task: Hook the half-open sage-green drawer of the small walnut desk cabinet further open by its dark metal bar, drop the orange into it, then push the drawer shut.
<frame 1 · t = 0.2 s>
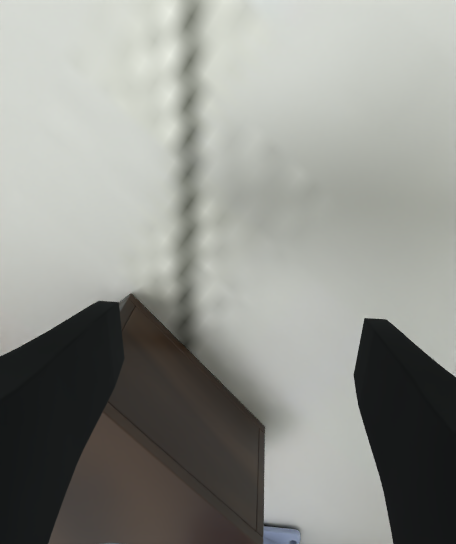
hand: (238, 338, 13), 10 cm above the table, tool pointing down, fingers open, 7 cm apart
cabinet: (122, 415, 28), on the table
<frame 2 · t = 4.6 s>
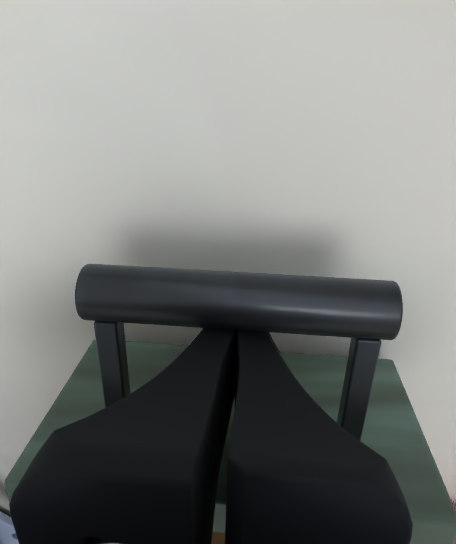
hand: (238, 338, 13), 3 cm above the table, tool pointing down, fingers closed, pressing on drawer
drawer: (230, 501, 15), point 4 cm above the table, slide at 7.8 cm, touching gripper
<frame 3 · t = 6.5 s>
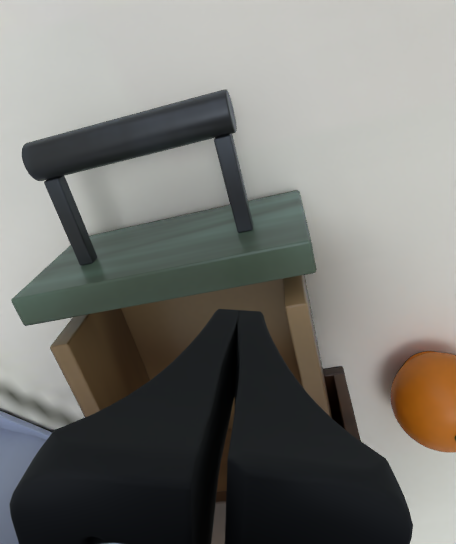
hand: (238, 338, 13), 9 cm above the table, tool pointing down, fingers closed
orange: (426, 370, 24), on the table
drawer: (197, 325, 19), point 4 cm above the table, slide at 9.5 cm
cabinet: (262, 465, 28), on the table
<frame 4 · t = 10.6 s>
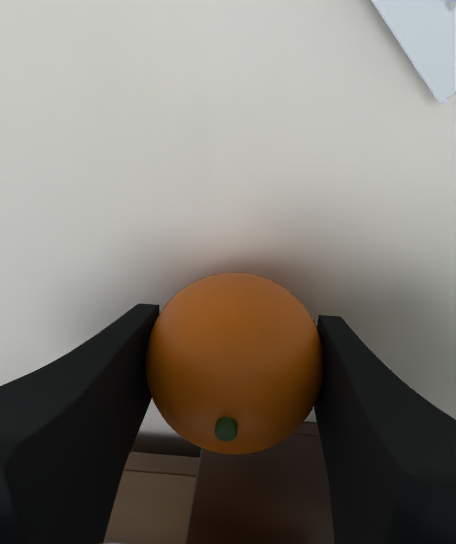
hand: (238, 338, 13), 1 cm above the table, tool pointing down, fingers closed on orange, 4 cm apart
orange: (239, 314, 14), on the table, touching gripper
cabinet: (373, 536, 18), on the table
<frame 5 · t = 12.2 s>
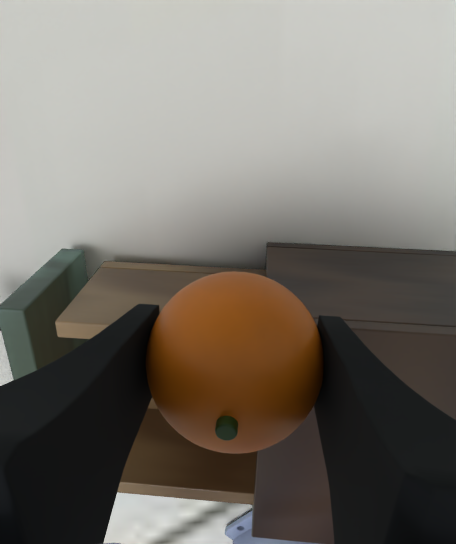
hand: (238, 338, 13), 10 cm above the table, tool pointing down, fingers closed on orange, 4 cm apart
orange: (240, 313, 14), point 9 cm above the table, touching gripper
drawer: (131, 374, 22), point 4 cm above the table, slide at 9.5 cm
cabinet: (385, 347, 25), on the table
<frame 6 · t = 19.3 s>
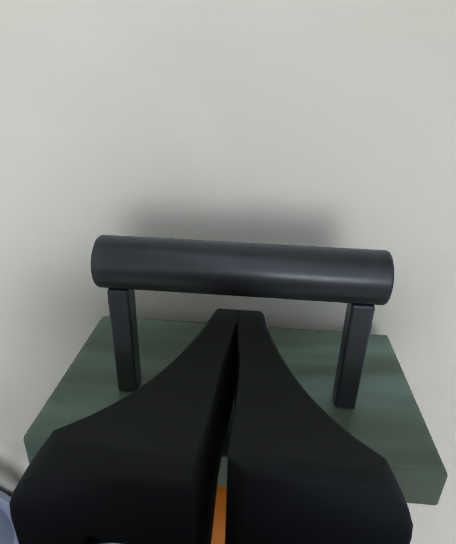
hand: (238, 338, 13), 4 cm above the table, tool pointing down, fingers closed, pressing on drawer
orange: (235, 449, 18), point 2 cm above the table, touching drawer
drawer: (232, 468, 16), point 4 cm above the table, slide at 8.5 cm, touching gripper, orange
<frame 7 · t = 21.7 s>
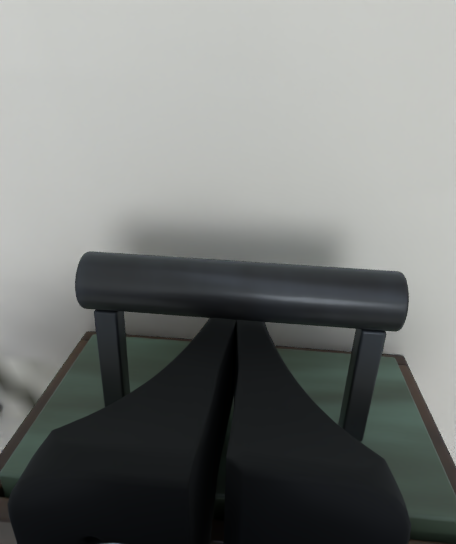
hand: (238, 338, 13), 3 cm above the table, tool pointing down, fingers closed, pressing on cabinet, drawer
drawer: (229, 500, 15), point 4 cm above the table, slide at -0.7 cm, touching gripper, orange
cabinet: (234, 473, 20), on the table
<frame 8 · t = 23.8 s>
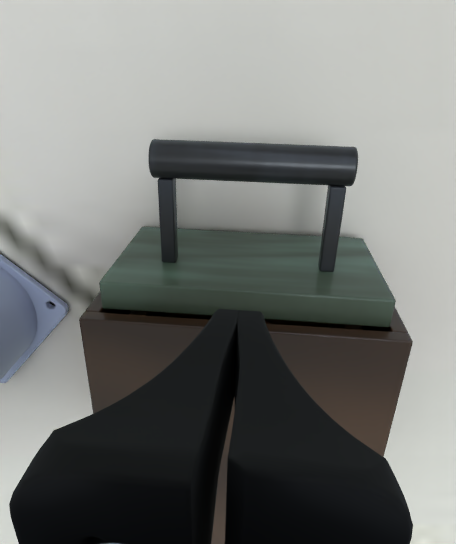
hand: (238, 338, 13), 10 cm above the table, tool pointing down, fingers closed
drawer: (244, 337, 20), point 4 cm above the table, slide at 0.0 cm, touching orange
cabinet: (244, 357, 26), on the table
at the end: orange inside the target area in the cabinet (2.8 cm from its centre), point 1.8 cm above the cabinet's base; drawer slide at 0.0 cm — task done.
